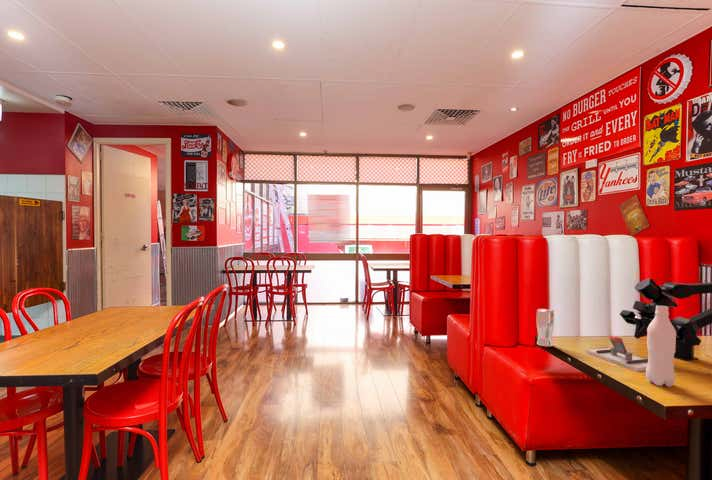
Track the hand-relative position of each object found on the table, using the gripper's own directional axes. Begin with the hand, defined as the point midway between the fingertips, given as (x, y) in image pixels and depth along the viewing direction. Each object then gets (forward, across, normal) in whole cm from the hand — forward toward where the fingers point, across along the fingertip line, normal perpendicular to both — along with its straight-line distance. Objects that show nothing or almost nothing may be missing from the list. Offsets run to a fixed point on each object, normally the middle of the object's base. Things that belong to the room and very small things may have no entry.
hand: (635, 337), depth 138 cm
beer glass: (+21, -23, -9) cm, 32 cm away
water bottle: (+17, +20, -5) cm, 27 cm away
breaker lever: (+9, 0, -1) cm, 9 cm away
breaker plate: (+11, 0, +1) cm, 11 cm away
